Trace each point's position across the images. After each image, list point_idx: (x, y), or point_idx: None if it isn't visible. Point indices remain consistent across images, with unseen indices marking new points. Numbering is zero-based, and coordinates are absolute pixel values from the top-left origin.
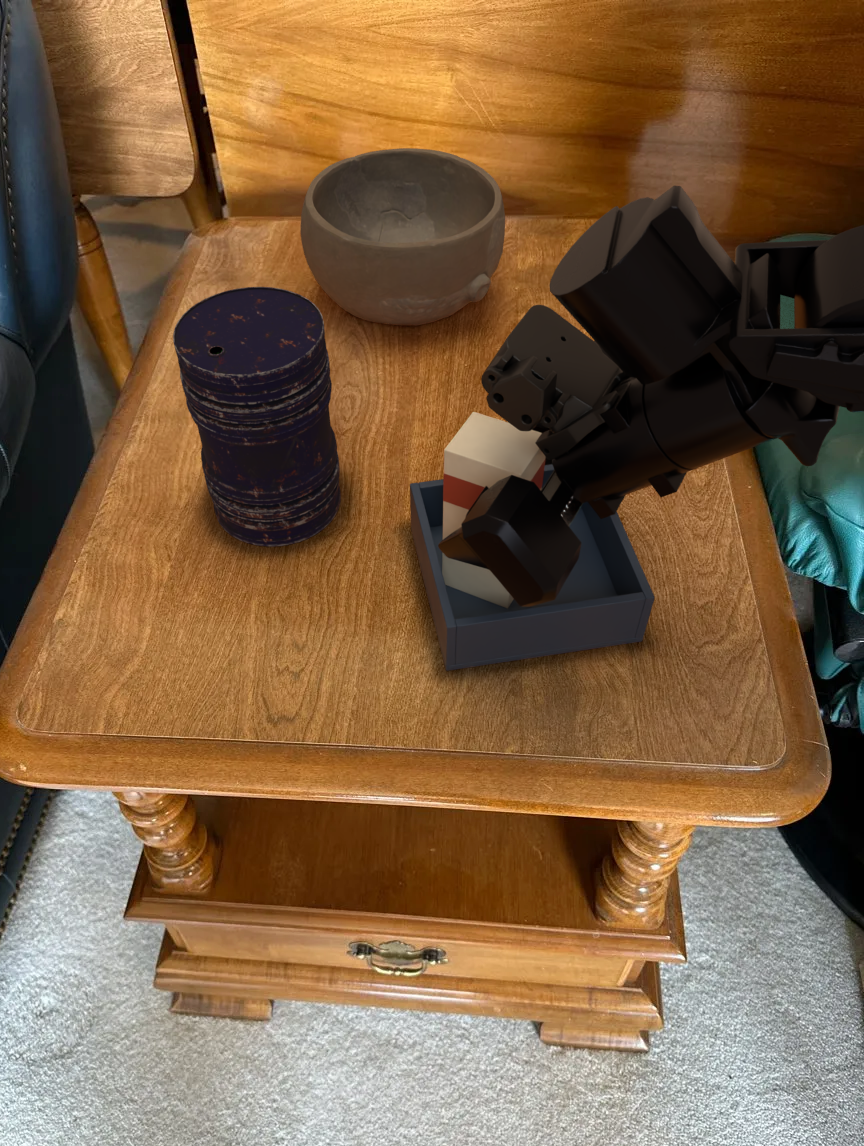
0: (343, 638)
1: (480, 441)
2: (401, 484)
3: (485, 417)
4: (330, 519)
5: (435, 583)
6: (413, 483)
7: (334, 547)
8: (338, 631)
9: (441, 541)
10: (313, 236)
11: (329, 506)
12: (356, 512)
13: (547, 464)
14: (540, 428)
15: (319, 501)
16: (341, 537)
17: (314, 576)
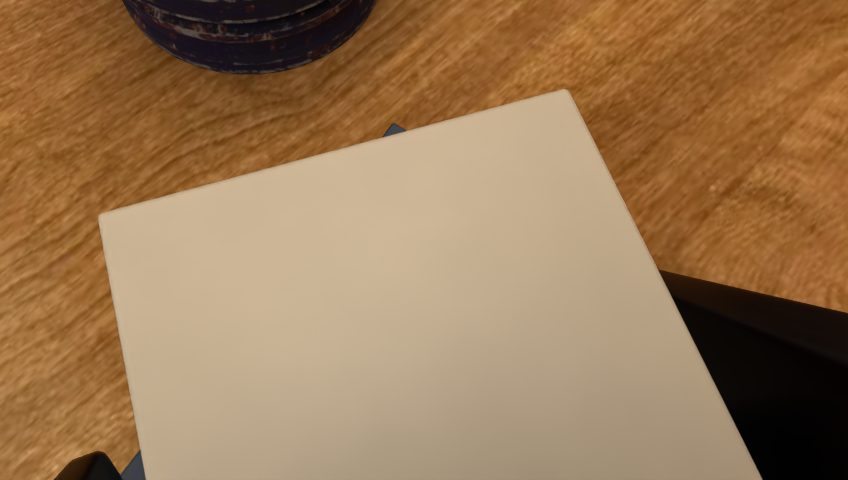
0: (34, 323)
1: (367, 349)
2: (467, 94)
3: (592, 183)
4: (281, 65)
5: (129, 463)
6: (399, 128)
7: (235, 122)
8: (44, 300)
9: (74, 468)
10: None
11: (283, 40)
12: (342, 86)
13: None
14: (843, 385)
15: (233, 16)
16: (267, 113)
17: (142, 151)
